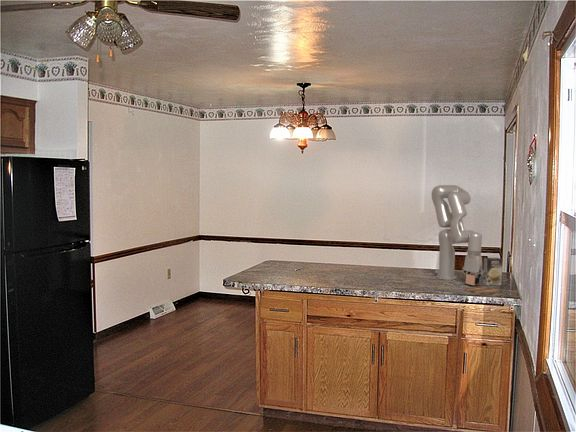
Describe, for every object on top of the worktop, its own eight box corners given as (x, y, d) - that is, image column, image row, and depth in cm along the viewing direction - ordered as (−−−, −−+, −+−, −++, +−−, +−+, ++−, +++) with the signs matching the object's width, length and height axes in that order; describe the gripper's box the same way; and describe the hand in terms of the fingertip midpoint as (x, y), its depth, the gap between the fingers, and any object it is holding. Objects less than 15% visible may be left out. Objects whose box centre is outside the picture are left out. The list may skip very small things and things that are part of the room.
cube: (465, 283, 335) (466, 274, 334) (471, 282, 338) (471, 273, 337) (473, 285, 330) (473, 276, 330) (479, 284, 333) (479, 275, 333)
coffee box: (486, 285, 335) (487, 259, 334) (482, 283, 342) (483, 257, 340) (501, 285, 336) (502, 259, 334) (497, 283, 342) (498, 257, 341)
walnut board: (464, 290, 321) (464, 288, 320) (479, 287, 329) (479, 285, 328) (485, 295, 309) (485, 293, 309) (500, 292, 317) (500, 290, 317)
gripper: (458, 251, 337) (456, 280, 339) (482, 256, 323) (480, 286, 325) (466, 250, 341) (464, 279, 343) (490, 255, 327) (488, 285, 329)
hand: (472, 282), depth 334 cm, fingers closed on cube, 5 cm apart
